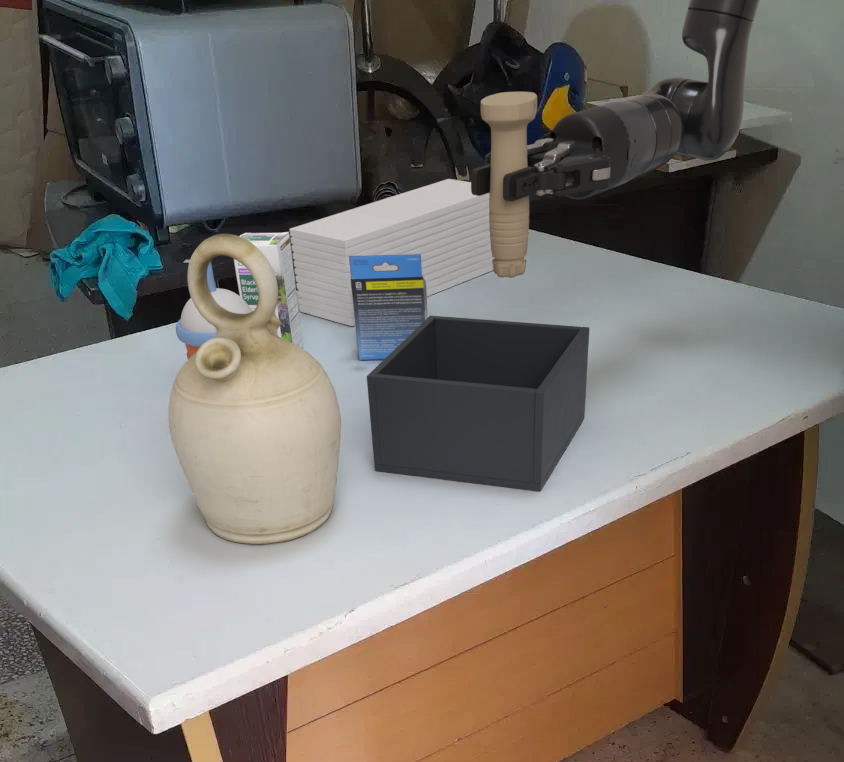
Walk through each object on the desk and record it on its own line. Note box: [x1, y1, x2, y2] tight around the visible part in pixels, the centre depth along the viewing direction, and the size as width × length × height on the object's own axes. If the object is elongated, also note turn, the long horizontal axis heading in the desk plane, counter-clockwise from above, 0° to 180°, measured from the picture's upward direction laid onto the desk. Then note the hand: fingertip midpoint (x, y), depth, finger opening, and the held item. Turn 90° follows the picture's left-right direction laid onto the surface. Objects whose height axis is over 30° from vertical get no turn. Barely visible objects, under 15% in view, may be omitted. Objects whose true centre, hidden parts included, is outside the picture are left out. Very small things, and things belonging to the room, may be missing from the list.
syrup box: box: [233, 231, 304, 349], centre depth 124 cm, size 6×6×14 cm
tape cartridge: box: [349, 254, 429, 361], centre depth 124 cm, size 9×4×12 cm, turn 84°
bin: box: [366, 315, 590, 492], centre depth 104 cm, size 18×18×10 cm
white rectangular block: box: [289, 178, 495, 327], centre depth 144 cm, size 32×11×11 cm, turn 137°
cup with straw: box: [175, 261, 253, 360], centre depth 110 cm, size 9×9×18 cm
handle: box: [480, 91, 538, 279], centre depth 96 cm, size 5×6×15 cm
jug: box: [168, 233, 342, 545], centre depth 90 cm, size 15×16×25 cm
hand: (490, 186), depth 94 cm, fingers closed on handle, 3 cm apart
